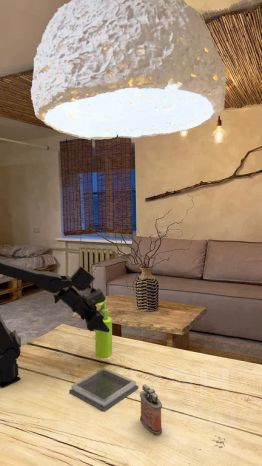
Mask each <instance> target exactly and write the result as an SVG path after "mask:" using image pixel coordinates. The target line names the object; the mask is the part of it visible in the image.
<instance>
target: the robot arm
mask: <svg viewBox="0 0 262 466" xmlns="http://www.w3.org/2000/svg"><path fill="white" fill-rule="evenodd" d="M0 275H1V276H5V277H9V278H13V279H16V280H20V281H24V282H27V283H30V284H33V285H36V286H37V287H39V288H41V289H43V290H44V291H46V292H48V293H51V294H52V296H53V302H54V304H57V303H58V302H59V301H61V302H62V303H64V304H65V305H66V306H67V307H68V308H69V309H70V310H71V311H72V312H73V313H74V314H75V313H76V315H78V316H79V318H80V319H81V320H82V321H84V326H85V328H87V329H88V330H89V331H90V332H93V331H95V330H99V331H103V332H109V331H110V330H109V328H108V327H107V326H106V324H105V323H104V322H103V318H104V316H103V315H102V313H100V312H99V309H98V308H97V307H98V306H97V304H98V303H100V302H102V301H104V300H107V298H106V296H105V294H104V292H103V290H102V289H100V288H95V287H91V288H89V286H90V285H92V283H93V282H94V281H95V280H96V277H95V276H94V275H93V274H91V273H90V272H89V271H88V270H86V268H84V267H83V266H81V265H79V266H78V267H77V269H76V271H74V272H73V274H71V276H70V275H60V274H59V273H57V272H54V271H46V270H45V271H44V270H43V271H42V270H41V271H39V270H34V269H31V268H28V267H24V266H20V265H18V264H14V263H10V262H7V261H3V260H1V259H0ZM88 288H89V293H88V294H87V295H84V294H81V293H80V292H83V291H84V292H85V291H86V290H87V289H88ZM76 289H77V290H76ZM21 347H22V337H20V336H19V334H18V333H17V329H13V330H12V331H11V330H10V329H9V328H8V327H7V325H6V323H5V321H4V319H3V318H2V316H1V315H0V387H1V388H6V387H7V386H10V385H12V384H14V383H16V382H18V381H19V380H21V377H20V376H19V375H20V374H19V363H18V362H17V359H19V357H20V356H21V354H22V353H21Z"/></svg>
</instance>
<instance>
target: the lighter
mask: <svg viewBox="0 0 262 466" xmlns="http://www.w3.org/2000/svg"><path fill="white" fill-rule="evenodd" d="M141 387H142V391H140V392H139V397H140V416H139V417H140V418H139V420H140V422H141V424H142V426H143V427H144V428H145V429H146V430H147V431H148V432H149V433H150V434H152V435H153V436H160V435H162V433H163V428H162V408H163V403H162V402H161V400H160V399H159V395H158V393H156V390H155V389H154V388H151V387H150V386H148V385H147V384H146V383H145V384H142V385H141Z"/></svg>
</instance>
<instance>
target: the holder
mask: <svg viewBox="0 0 262 466" xmlns="http://www.w3.org/2000/svg"><path fill="white" fill-rule="evenodd" d="M138 389H139V385H137V381H135V380H133V379H131V378H128V377H126V376H124V375H121V374H119V373H117V372H115V371H112V370H110V369H108V368H106V367H102V368H101V369H99V370H97V371H95V372H93V373H91V374H89V375H88V376H86V377H84V378H83V379H80V380H79V381H76V382H75V383H73V384H72V385H71V389H69V394H71V395H73V396H75V397H77V398H79V399H80V400H82V401H84V402H86V403H88V404H89V405H91V406H93V407H94V408H97V409H99V410H100V411H101V412H104V413H105V412H107V411H108V410H109V409H110V408H112V407H114V406H115V405H117V404H118V403H120V402H121V401H122V400H123V399H125V398H127V397H128V396H130V395H131V394H133V392H136V391H137V390H138Z"/></svg>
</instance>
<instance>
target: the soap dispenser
mask: <svg viewBox="0 0 262 466" xmlns="http://www.w3.org/2000/svg"><path fill="white" fill-rule="evenodd" d="M107 302H108V299H106V300H104V301H102V302H100V303H98V304H96V307H98V306H100V308H99V309H98V311H99V312H100V313H102V315H103V316H104V318H103V322H104V323H105V324H106V326H107V327H108V328H109V330H110V331H109V332H103V331H99V330H94V332H95V333H94V334H95V335H94V337H95V342H94V343H95V344H94V345H95V357H97V358H99V359H109V358H111V357H112V355H113V318H112V317H111V316H109V309H108V308H107Z"/></svg>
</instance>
